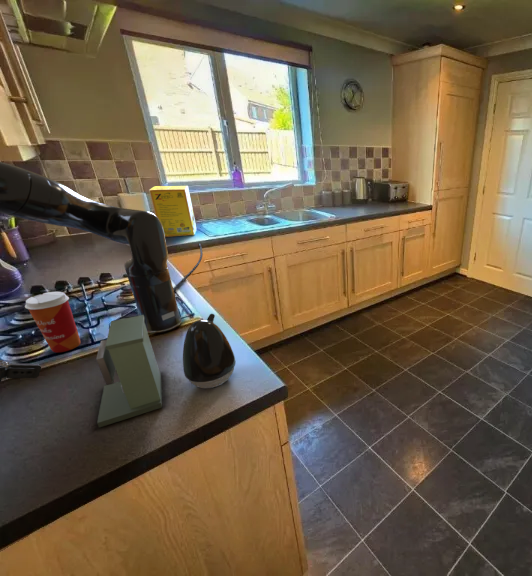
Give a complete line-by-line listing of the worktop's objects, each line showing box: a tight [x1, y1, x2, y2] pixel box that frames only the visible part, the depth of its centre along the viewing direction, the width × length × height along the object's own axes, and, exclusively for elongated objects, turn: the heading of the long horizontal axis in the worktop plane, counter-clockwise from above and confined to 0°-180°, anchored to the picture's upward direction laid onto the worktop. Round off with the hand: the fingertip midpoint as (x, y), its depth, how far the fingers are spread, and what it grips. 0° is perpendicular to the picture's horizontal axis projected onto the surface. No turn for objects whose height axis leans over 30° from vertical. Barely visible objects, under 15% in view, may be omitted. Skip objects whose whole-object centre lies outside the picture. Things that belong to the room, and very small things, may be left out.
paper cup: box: [24, 291, 81, 353], centre depth 81 cm, size 8×8×14 cm
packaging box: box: [148, 185, 197, 238], centre depth 183 cm, size 16×16×25 cm
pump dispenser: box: [182, 313, 237, 389], centre depth 71 cm, size 10×10×15 cm
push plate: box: [95, 339, 116, 385], centre depth 63 cm, size 7×1×6 cm, turn 33°
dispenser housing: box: [96, 315, 163, 428], centre depth 65 cm, size 12×10×16 cm
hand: (39, 370), depth 58 cm, fingers closed
